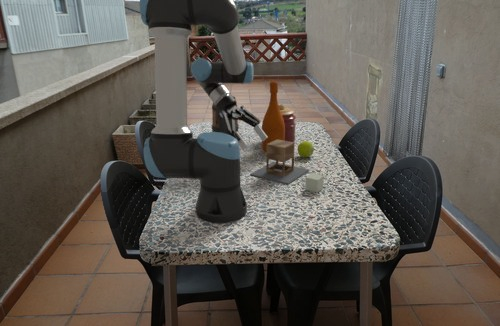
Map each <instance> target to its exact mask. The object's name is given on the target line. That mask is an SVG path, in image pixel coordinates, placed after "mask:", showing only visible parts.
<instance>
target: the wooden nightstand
mask: <svg viewBox="0 0 500 326" xmlns="http://www.w3.org/2000/svg"><path fill="white" fill-rule="evenodd" d="M265 154H266V160H265V161H266V165H265V166H266V173H270V174H274V175H278V176H282V177H284V176H286V175H288V174H289V173H291V172H292V171H294V166H295V142H289V141H283V140H278V139H277V140H275V141H273V142H270V143H268V144H267V146H266V153H265ZM270 160H271V161H274V162H276V164H274V165H273V166H271V167H269V164H270V163H269V162H270ZM289 160H291V166H287V165H288V164H286V162H288V161H289ZM280 162H281V163H282V164H278V163H280ZM285 164H286V165H285ZM276 168H281V169H282V172H280V171H276V170H274V169H276ZM285 170H286V171H285Z"/></svg>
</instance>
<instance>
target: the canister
mask: <svg viewBox="0 0 500 326" xmlns="http://www.w3.org/2000/svg"><path fill="white" fill-rule="evenodd" d="M279 106H280V112H281V114H282V116H283V120H284V124H285V141H289V142H294V143H295V142H296V121H295V120H296V118H297V117H296V115H294V114H295V111H294V110H292V109H291V108H289V107H286V106H285V105H284V104H279Z"/></svg>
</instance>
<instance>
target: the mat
mask: <svg viewBox="0 0 500 326" xmlns="http://www.w3.org/2000/svg"><path fill="white" fill-rule="evenodd" d="M274 164H276V161H271V162H270V163H269V167H271V166H273V165H274ZM278 164H283V162H281V163H280V162H278ZM285 165H287V166H292V164H291V165H289V164H286V163H285ZM274 170H276V171H280V172H282V169H281V168H276V169H274ZM285 171H286V170H285ZM308 172H310V169H308V168H304V167H300V166H295V165H294V171H292V172H291V173H289V174H288V175H286V176H284V177H282V176H278V175H274V174H270V173H266V165H264V166H262V167H260V168H259V169H257V170H255V171H253V172H251V173H250V176H252V177H256V178H260V179H264V180H268V181H272V182H277V183H281V184H284V185H287V186H289V185H291V183H293V182H294V181H296V180H298V179H299V178H301V177H302V176H303V175H305V174H307V173H308Z"/></svg>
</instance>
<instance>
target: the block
mask: <svg viewBox="0 0 500 326" xmlns="http://www.w3.org/2000/svg"><path fill="white" fill-rule="evenodd" d="M324 178H325V176H324V175H321V174H318V173H313V172H311V173H310V174H308V175H307V176H305V184H304V185H305V186H304V190H305V191H310V192H313V191H314V193H317V192H318V191H319V192H320V191H321V190H323V188H324ZM319 192H318V193H319Z"/></svg>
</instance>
